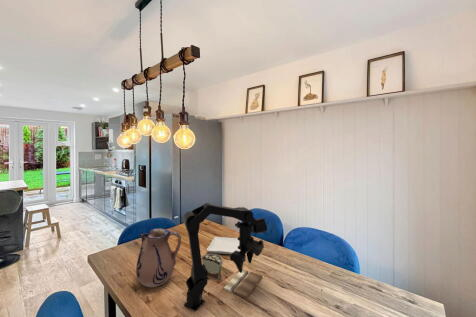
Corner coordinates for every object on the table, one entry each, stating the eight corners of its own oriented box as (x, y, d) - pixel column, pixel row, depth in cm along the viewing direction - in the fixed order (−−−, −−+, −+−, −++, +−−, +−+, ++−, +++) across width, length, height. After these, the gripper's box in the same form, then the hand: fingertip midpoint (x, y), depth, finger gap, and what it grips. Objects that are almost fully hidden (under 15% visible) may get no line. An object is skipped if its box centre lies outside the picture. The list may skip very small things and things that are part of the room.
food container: (227, 275, 114) (227, 256, 114) (220, 281, 109) (220, 262, 108) (208, 268, 120) (208, 251, 120) (201, 274, 115) (201, 255, 115)
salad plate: (239, 257, 133) (239, 252, 133) (205, 255, 136) (205, 249, 136) (243, 243, 154) (243, 238, 154) (214, 241, 157) (214, 236, 157)
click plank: (246, 298, 96) (247, 295, 96) (233, 293, 100) (233, 290, 100) (262, 277, 112) (262, 275, 112) (250, 273, 116) (250, 271, 115)
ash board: (231, 292, 100) (231, 289, 100) (223, 289, 102) (223, 287, 102) (248, 273, 116) (248, 270, 116) (241, 271, 118) (241, 268, 118)
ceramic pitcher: (137, 275, 113) (137, 228, 112) (179, 268, 121) (179, 223, 120) (134, 297, 97) (133, 242, 96) (183, 286, 105) (182, 235, 103)
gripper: (252, 247, 89) (252, 283, 90) (268, 231, 106) (268, 263, 106) (229, 241, 95) (229, 275, 96) (248, 227, 111) (248, 257, 112)
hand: (245, 267), depth 102 cm, fingers open, 9 cm apart
